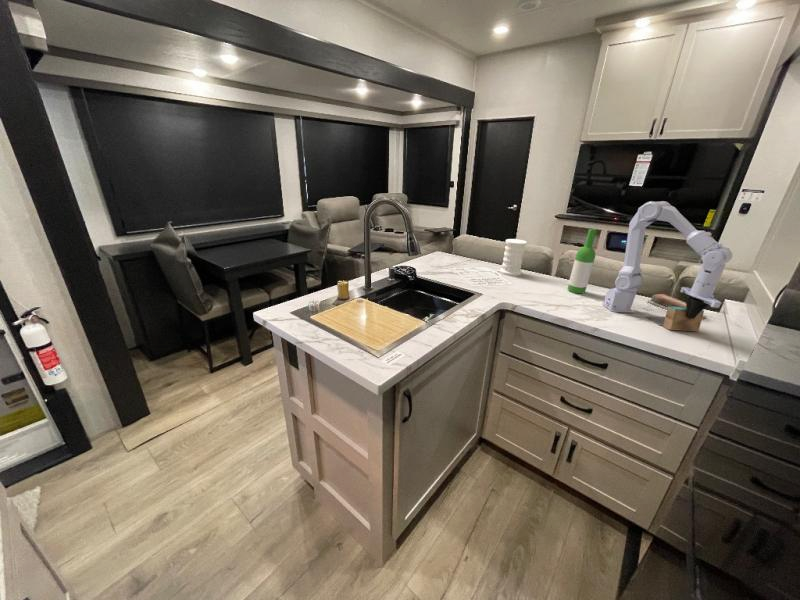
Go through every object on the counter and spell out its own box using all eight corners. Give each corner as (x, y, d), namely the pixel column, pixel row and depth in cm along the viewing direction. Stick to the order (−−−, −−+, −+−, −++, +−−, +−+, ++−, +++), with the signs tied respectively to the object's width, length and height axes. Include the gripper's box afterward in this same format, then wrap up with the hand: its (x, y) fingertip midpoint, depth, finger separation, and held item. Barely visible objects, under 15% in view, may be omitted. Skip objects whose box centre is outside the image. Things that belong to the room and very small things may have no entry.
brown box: (670, 329, 116) (675, 308, 114) (662, 326, 119) (667, 306, 117) (698, 331, 115) (704, 310, 113) (690, 328, 119) (695, 307, 117)
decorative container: (519, 270, 180) (525, 239, 173) (522, 276, 169) (529, 244, 162) (498, 268, 182) (503, 238, 175) (500, 275, 171) (506, 242, 164)
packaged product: (648, 293, 139) (665, 292, 142) (645, 303, 141) (661, 302, 144) (692, 310, 123) (710, 308, 126) (688, 321, 125) (705, 319, 128)
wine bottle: (588, 293, 149) (606, 230, 138) (577, 295, 147) (594, 231, 135) (574, 287, 156) (591, 227, 144) (563, 289, 153) (579, 227, 141)
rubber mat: (659, 325, 119) (659, 325, 119) (645, 316, 127) (646, 316, 127) (692, 327, 119) (692, 327, 119) (676, 318, 126) (676, 317, 126)
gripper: (737, 290, 101) (719, 327, 106) (700, 276, 114) (686, 309, 120) (714, 289, 101) (697, 326, 107) (680, 275, 115) (667, 308, 120)
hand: (690, 317), depth 113 cm, fingers closed
